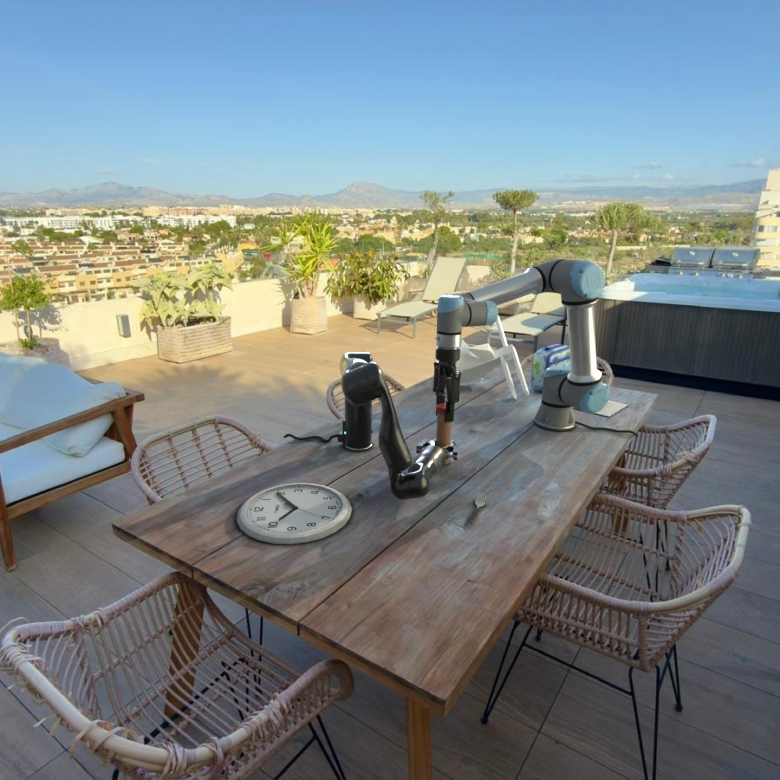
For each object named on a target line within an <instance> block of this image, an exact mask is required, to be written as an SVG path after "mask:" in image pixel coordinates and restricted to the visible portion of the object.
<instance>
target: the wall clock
mask: <svg viewBox="0 0 780 780" xmlns="http://www.w3.org/2000/svg"><path fill="white" fill-rule="evenodd" d="M352 511H353V508H352V505H351V501H350V500H349V499H348V497H346V495H345V494H344V493H342V492H340V491H338V490H336V489H335V488H332V487H329V486H327V485H324V484H318V483H310V482H295V483H285V484H280V485H275V486H271V487H270V488H266V489H263V490H261V491H259V492H258V493H257V492H256V493H255V494H254V495H252V496H250V497H249V498H248V499H247V500H245V502H243V503H242V504H241V505H240V507H239V509H238V511H237V515H236V523H237V525H238V528H239V530H241V531H242V532H243V533H244V534H246V535H247V536H249V537H250V538H252V539H255V540H257V541H260V542H263V543H264V542H265V543H267V544H268V543H269V544H274V545H296V544H297V545H298V544H305V543H309V542H314V541H318V540H321V539H323V538H326V537H328V536H330V535H332V534H335V533H336V532H337V531H339V530H340V529H342V528H343V527H344V526H345V525H346V524H347V523H348V521H349V520H350V519H351V516H352Z"/></svg>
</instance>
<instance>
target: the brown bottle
mask: <svg viewBox="0 0 780 780" xmlns="http://www.w3.org/2000/svg"><path fill="white" fill-rule="evenodd" d="M452 424H453V422H447V423H446V422H445V414H443V413H439V412H437V416H436V432H435V438H436V446H439V447H440V446H441V447H442V446H444V445H449V444H450V442H451V441H452V426H453V425H452ZM450 458H451V457H449V458H448V459H446V460H445V462H444V464H443V465H442V466H446V465H448V464H450V460H451V459H450Z"/></svg>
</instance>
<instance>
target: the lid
mask: <svg viewBox="0 0 780 780" xmlns="http://www.w3.org/2000/svg"><path fill="white" fill-rule="evenodd" d="M445 408H446V403H439V404H437V405H436V404H435V412H436V411H437V412H439V413H443V414H445Z"/></svg>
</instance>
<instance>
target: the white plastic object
mask: <svg viewBox="0 0 780 780" xmlns="http://www.w3.org/2000/svg"><path fill="white" fill-rule="evenodd" d="M495 324H496V325H495V326H496V328H497V332H498V335H499V338H500V342H501V345H502V347H500V348H498V349H496V350H495V349H493V348H492V347H491V346H490V344H489V343H488V342H487V343H483V344H479V345H473V346H469V345H468V343H466V342H465V340H464V339H463V338H461V346H460V347H459V348H460V359H459V360H458V361H457V362H456V370H457V371H461V377H460V384H467V383H468V384H469V383H473V384H477V383H480V382H482V381H484V378H485V377H486V376H487V375H489V374H490V373H492V372H494V371H495V370H496V369H497V368H499V367H500V366H502V370H503V373H504V376H505V380H506V383H507V386H508V390H509V393H510V394H511V395H512V397H513V398H514V399H515V400H517V392H516V391H517V390H516V388H515V385H514V381H513V378H512V375H511V371H510V369H509V365H508V361H510V360H513V363H514V366H515V369H516V372H517V376H518V380H519V382H520V385H521V389H522V391H523V393H524V395H525V396H526V397H528V396H531V395H530V390H529V388H528V387H529V386H528V384H527V381H526V378H525V375H524V371H523V369H522V368H523V367H522V366H521V362H520V359H519V355H518V352H517V349H516V347H515V346H514V345H513V343H511V344H508V341H507V337H506V334H505V331H504V328H503V325H502V321H501V318H500V315H498V318H497V320H496V322H495Z"/></svg>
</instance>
